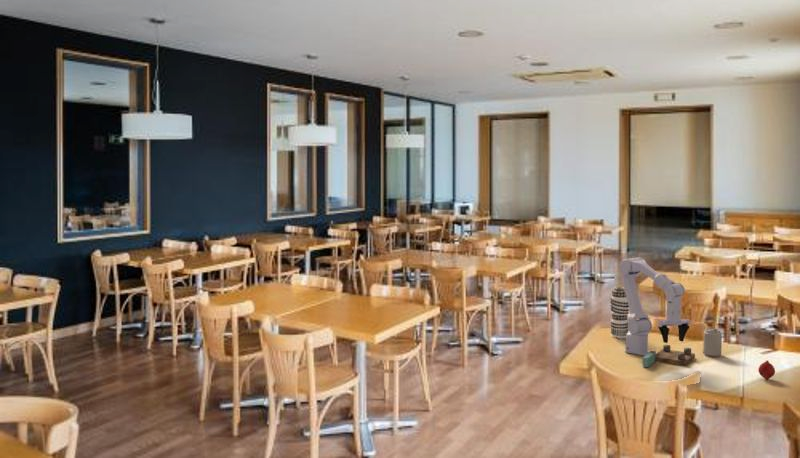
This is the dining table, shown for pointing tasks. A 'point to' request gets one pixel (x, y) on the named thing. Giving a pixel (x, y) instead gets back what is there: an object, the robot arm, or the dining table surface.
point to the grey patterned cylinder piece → (619, 313)
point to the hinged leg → (649, 359)
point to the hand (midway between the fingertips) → (673, 341)
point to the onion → (766, 370)
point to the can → (712, 342)
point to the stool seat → (675, 356)
